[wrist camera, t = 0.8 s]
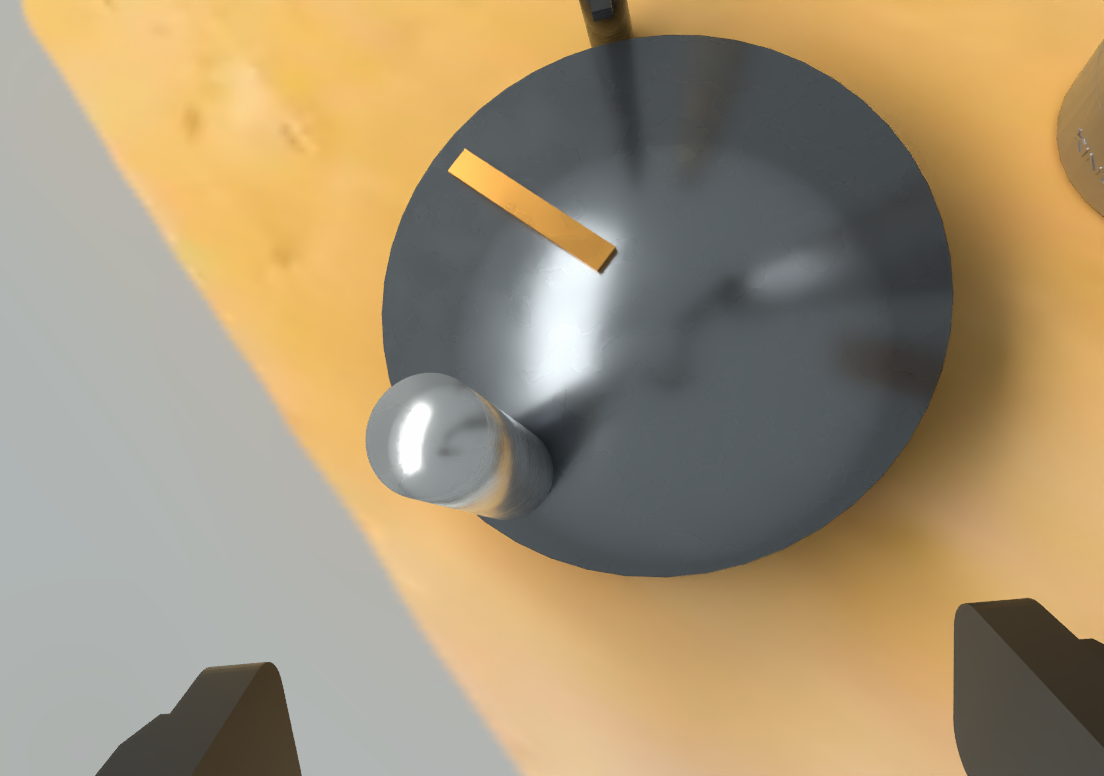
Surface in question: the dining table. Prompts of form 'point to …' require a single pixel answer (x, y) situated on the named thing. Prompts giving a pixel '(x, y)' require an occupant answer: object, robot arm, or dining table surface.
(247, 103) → the dining table surface
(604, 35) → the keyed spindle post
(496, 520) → the turntable
